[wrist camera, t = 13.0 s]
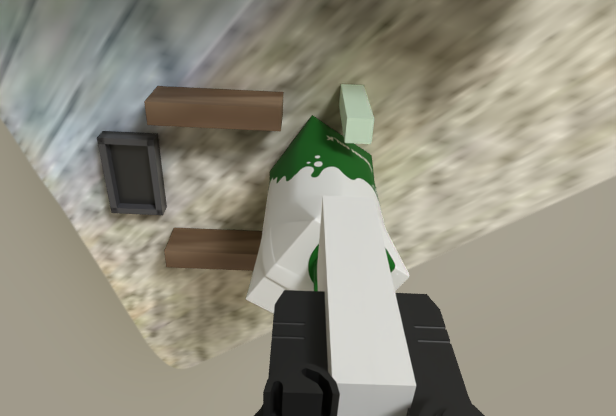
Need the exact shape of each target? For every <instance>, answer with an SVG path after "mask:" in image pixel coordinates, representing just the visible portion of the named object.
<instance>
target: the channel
mask: <svg viewBox="0 0 616 416" xmlns="http://www.w3.org/2000/svg"><path fill="white" fill-rule="evenodd" d="M144 103H145V110H146V118H147V125H157V126H179V127H200V128H221V129H243V130H264V131H281V124H282V116H283V92H268V91H248V90H227V89H207V88H187V87H166V86H157V87H156V88H155V90H154V91H153V92H152V93H151V94H150V96H149V97H148V98H147V99H146V100H145V102H144ZM261 239H262V231H241V230H217V229H193V228H174V229H173V231H172V234H171V236H170V239H169V241H168V243H167V246H166V248H165V251H164V252H165V260H166V267H175V268H201V269H226V270H252V271H253V270H254V267H255V263H256V259H257V255H258V251H259V247H260V243H261Z"/></svg>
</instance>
